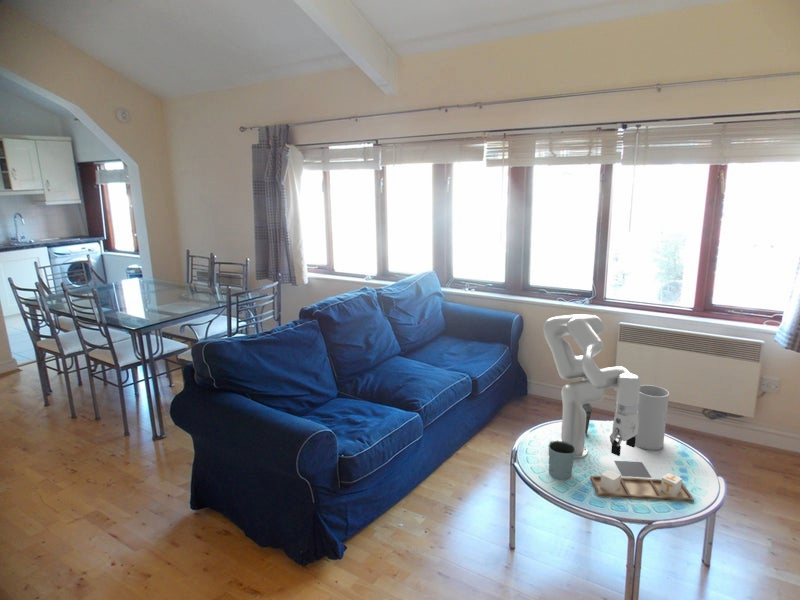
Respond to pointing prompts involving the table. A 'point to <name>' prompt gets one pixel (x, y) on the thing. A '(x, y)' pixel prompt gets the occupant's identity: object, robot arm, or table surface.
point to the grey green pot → (561, 459)
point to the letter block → (671, 484)
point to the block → (610, 481)
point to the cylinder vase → (652, 417)
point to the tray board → (641, 490)
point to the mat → (632, 469)
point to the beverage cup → (587, 414)
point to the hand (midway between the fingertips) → (623, 450)
